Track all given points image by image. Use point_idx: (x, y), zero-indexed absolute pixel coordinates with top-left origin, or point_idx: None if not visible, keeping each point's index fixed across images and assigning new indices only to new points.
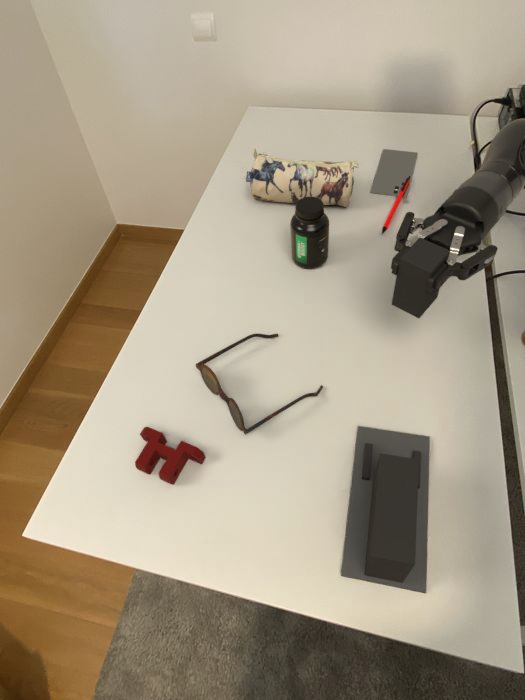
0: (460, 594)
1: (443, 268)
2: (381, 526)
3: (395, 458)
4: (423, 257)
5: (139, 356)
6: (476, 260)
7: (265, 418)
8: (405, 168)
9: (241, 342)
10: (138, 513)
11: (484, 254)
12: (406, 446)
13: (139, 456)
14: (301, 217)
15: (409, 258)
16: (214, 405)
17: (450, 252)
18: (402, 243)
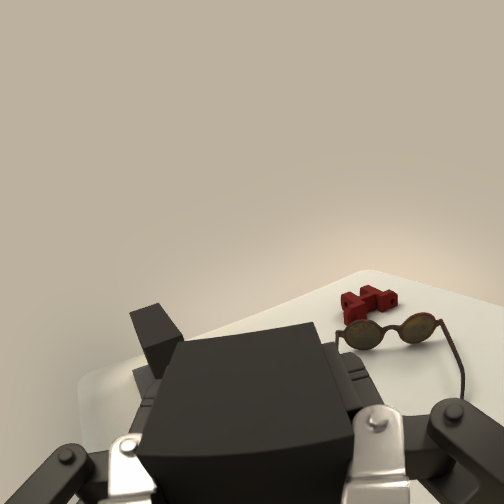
0: (110, 383)
1: (151, 409)
2: (158, 311)
3: (165, 338)
4: (238, 367)
5: (481, 309)
6: (30, 484)
7: (336, 346)
8: None
9: (456, 359)
10: (338, 295)
11: None
12: None
13: (370, 286)
14: None
15: (283, 338)
16: (396, 341)
17: (148, 493)
18: (411, 418)
